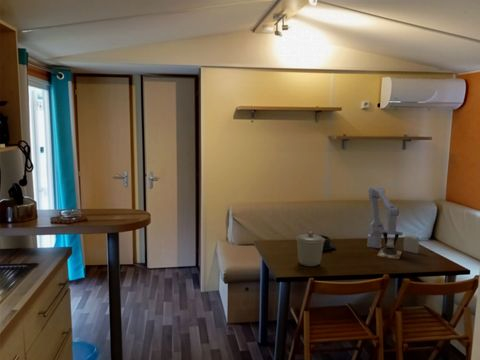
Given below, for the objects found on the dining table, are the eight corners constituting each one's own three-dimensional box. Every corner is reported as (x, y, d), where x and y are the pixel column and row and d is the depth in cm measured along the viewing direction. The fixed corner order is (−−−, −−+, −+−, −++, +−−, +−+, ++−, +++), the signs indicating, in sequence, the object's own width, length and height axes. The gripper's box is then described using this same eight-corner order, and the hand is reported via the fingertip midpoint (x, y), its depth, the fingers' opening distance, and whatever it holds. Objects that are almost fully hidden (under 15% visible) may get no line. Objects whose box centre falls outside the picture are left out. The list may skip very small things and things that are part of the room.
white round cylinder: (386, 246, 286) (386, 239, 285) (387, 244, 290) (387, 237, 289) (393, 247, 283) (394, 240, 283) (394, 246, 288) (395, 238, 287)
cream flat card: (377, 256, 283) (377, 250, 282) (381, 249, 299) (381, 244, 298) (398, 259, 276) (399, 253, 276) (401, 252, 292) (402, 247, 292)
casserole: (307, 253, 286) (307, 241, 285) (297, 245, 304) (297, 234, 302) (340, 251, 291) (341, 240, 290) (328, 244, 309) (329, 233, 308)
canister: (317, 259, 273) (319, 227, 270) (328, 268, 255) (329, 234, 253) (291, 259, 270) (292, 228, 267) (300, 269, 252) (301, 235, 249)
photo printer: (402, 250, 298) (403, 233, 296) (405, 249, 301) (406, 232, 299) (415, 253, 290) (417, 236, 288) (418, 252, 293) (420, 235, 291)
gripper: (379, 224, 285) (378, 244, 286) (402, 227, 278) (400, 247, 280) (381, 223, 291) (380, 241, 293) (403, 225, 284) (402, 244, 286)
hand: (390, 244), depth 287 cm, fingers closed on white round cylinder, 5 cm apart
